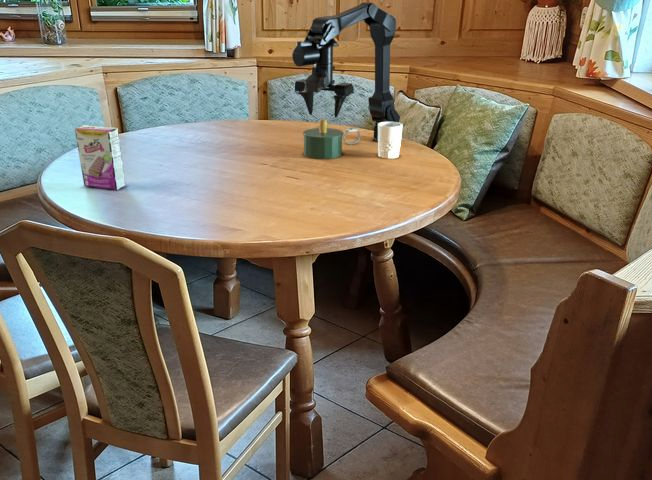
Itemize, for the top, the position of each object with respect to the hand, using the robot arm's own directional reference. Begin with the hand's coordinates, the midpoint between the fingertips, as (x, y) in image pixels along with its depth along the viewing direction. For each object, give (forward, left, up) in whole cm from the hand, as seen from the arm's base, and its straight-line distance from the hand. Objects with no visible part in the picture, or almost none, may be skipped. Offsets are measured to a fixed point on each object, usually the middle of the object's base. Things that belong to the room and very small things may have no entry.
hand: (323, 115), depth 232 cm
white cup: (-20, -8, -12) cm, 25 cm away
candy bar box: (+38, +62, -12) cm, 74 cm away
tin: (0, 0, -12) cm, 12 cm away
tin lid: (0, 0, -6) cm, 6 cm away
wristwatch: (-2, -17, -12) cm, 21 cm away
